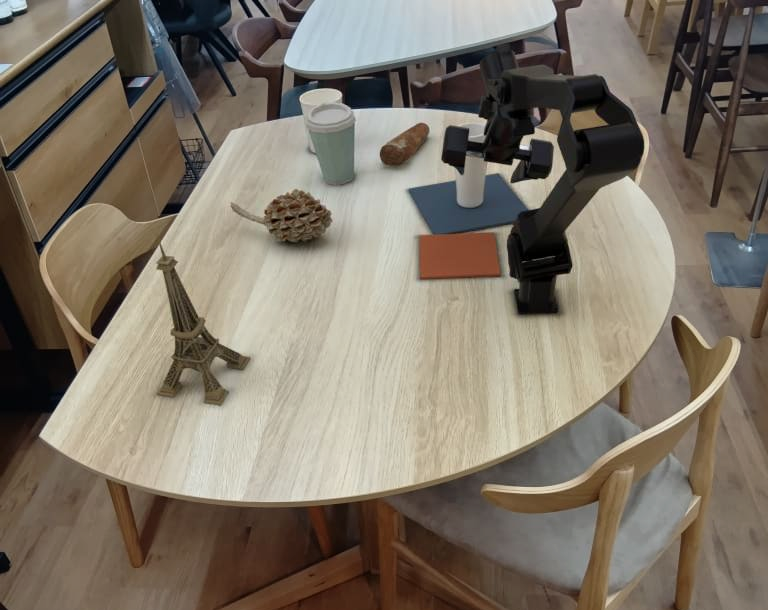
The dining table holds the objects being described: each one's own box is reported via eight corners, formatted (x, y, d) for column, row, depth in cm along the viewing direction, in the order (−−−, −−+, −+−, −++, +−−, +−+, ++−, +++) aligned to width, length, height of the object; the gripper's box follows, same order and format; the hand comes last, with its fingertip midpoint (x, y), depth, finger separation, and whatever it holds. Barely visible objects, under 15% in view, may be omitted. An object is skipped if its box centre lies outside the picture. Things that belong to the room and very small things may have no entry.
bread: (378, 168, 150) (376, 144, 146) (414, 134, 162) (413, 111, 158) (403, 172, 148) (402, 147, 144) (438, 138, 160) (437, 114, 156)
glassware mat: (534, 219, 129) (534, 217, 129) (435, 237, 127) (435, 235, 127) (498, 175, 144) (498, 173, 143) (408, 190, 141) (408, 188, 141)
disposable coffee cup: (368, 183, 145) (362, 114, 135) (321, 194, 143) (312, 125, 132) (352, 164, 152) (345, 97, 142) (307, 175, 150) (297, 107, 140)
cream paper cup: (301, 144, 162) (293, 94, 154) (338, 135, 165) (332, 85, 157) (315, 159, 155) (308, 107, 147) (353, 149, 158) (348, 98, 150)
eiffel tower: (220, 405, 97) (172, 258, 80) (157, 394, 100) (96, 250, 83) (250, 358, 104) (211, 214, 87) (190, 350, 107) (141, 208, 90)
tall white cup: (460, 213, 132) (461, 139, 121) (448, 198, 137) (448, 126, 126) (492, 206, 133) (495, 132, 123) (478, 192, 138) (481, 119, 127)
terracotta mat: (500, 276, 116) (500, 273, 116) (419, 279, 117) (419, 276, 117) (493, 234, 126) (493, 232, 126) (419, 237, 127) (419, 235, 127)
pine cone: (342, 230, 131) (336, 183, 124) (325, 256, 125) (318, 208, 118) (242, 220, 137) (231, 174, 130) (220, 244, 130) (207, 198, 123)
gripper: (568, 92, 109) (540, 145, 124) (456, 74, 108) (441, 129, 123) (563, 153, 106) (535, 200, 122) (448, 135, 106) (434, 184, 121)
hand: (486, 176), depth 122 cm, fingers open, 9 cm apart
